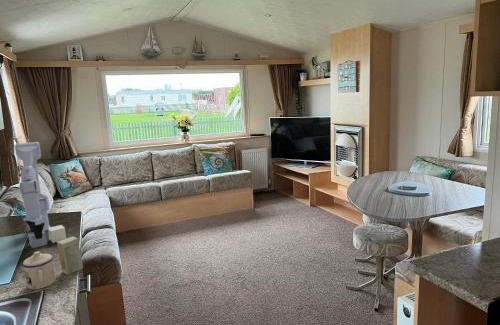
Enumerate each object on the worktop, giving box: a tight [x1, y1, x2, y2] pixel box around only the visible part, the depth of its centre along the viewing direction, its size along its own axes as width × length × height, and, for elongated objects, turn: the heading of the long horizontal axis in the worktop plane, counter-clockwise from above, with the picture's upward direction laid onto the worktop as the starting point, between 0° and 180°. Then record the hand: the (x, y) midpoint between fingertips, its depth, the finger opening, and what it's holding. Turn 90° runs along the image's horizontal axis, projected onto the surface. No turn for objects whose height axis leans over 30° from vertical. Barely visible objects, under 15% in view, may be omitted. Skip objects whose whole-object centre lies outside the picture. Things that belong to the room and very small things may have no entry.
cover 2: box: [47, 224, 67, 244], centre depth 168 cm, size 6×6×6 cm
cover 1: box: [27, 231, 48, 249], centre depth 163 cm, size 6×6×6 cm
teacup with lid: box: [22, 250, 56, 290], centre depth 126 cm, size 12×9×12 cm
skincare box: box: [56, 236, 84, 275], centre depth 136 cm, size 6×4×12 cm
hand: (37, 236), depth 163 cm, fingers open, 7 cm apart
